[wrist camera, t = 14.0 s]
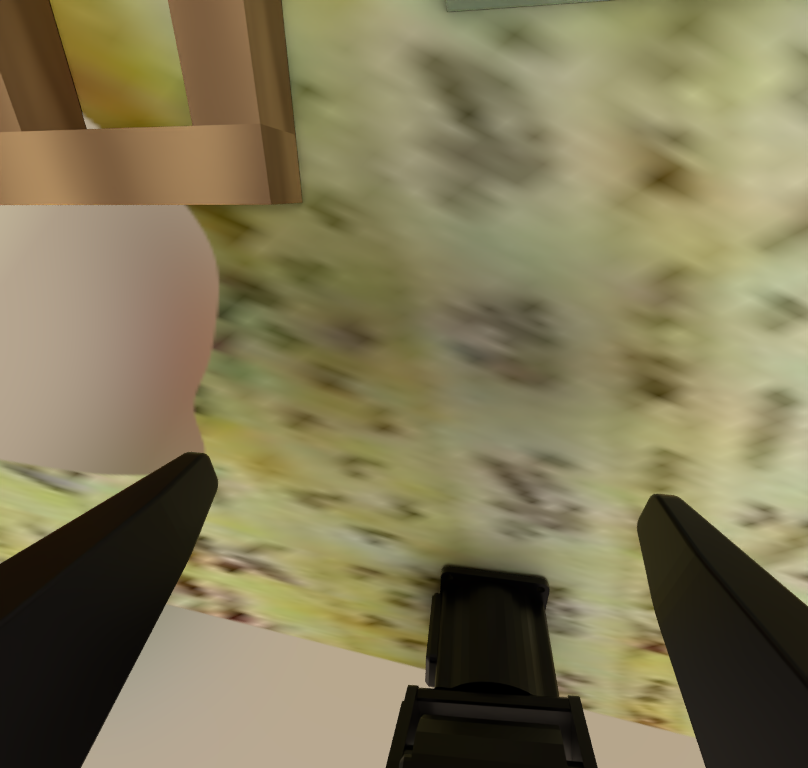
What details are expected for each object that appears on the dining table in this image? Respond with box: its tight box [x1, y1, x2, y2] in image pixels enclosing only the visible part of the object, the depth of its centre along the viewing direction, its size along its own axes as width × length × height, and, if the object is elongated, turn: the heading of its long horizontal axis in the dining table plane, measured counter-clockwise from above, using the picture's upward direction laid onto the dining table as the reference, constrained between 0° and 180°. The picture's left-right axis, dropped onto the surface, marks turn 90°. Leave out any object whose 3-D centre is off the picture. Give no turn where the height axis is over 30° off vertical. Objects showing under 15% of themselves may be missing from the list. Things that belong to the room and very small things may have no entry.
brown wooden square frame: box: [0, 0, 302, 205], centre depth 14 cm, size 12×12×3 cm
